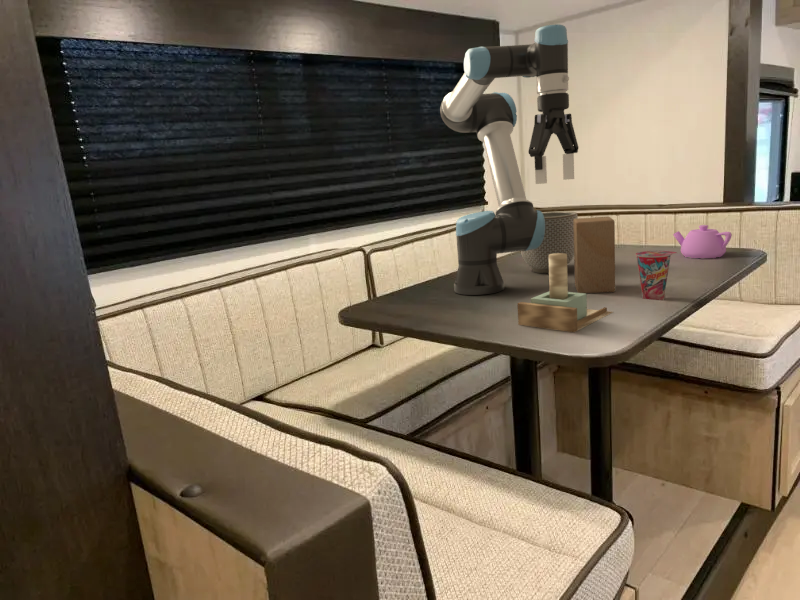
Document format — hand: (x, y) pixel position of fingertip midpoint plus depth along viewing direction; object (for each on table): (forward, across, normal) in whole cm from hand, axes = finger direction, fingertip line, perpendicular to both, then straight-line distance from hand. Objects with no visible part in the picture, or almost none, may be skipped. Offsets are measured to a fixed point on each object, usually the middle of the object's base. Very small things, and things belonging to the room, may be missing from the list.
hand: (555, 181), depth 151 cm
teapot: (+32, +78, -10) cm, 85 cm away
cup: (+32, +13, -20) cm, 40 cm away
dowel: (+29, -19, -11) cm, 37 cm away
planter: (+32, +39, +26) cm, 57 cm away
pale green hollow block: (+31, -19, -11) cm, 38 cm away
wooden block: (+32, +18, -1) cm, 37 cm away
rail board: (+32, -16, -11) cm, 37 cm away
